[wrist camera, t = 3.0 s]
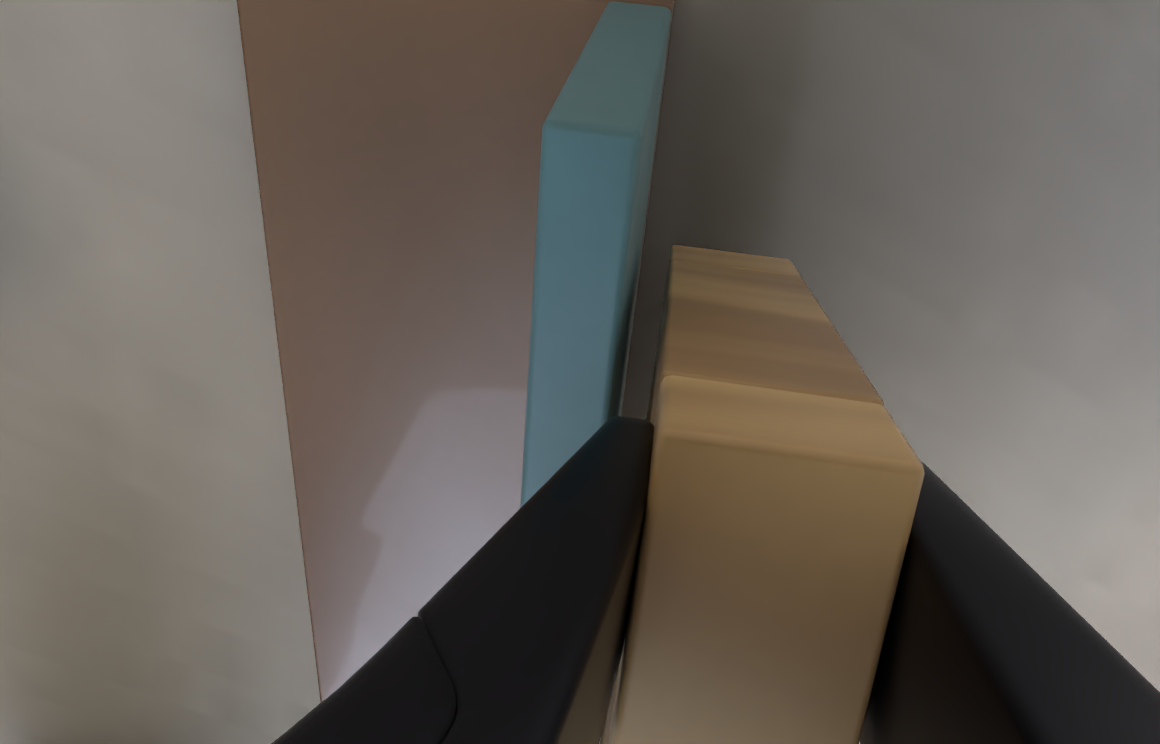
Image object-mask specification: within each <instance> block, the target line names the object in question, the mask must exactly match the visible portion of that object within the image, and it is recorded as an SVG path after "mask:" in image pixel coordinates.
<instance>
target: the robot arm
mask: <svg viewBox="0 0 1160 744" xmlns="http://www.w3.org/2000/svg"><path fill="white" fill-rule="evenodd" d="M653 434H654V426H653V424H652V423H651V422H650V421H647V420H640V419H633V418H627V417H620V416H614V417H611V418H610V419H608V420H607V421H606V422H605V423H604V424H603V425H602V426H601V427H600V428H599V429H598V430H597V431H596V432H595V433H594V434H593V436H592V437H591V438H590V439H589V440H588V441H587V442H586V443H585V444H584V445H583V446H582V447H581V448H580V449H579V450H578V451H577V452H576V453H575V454H574V455H573V456H572V457H571V458H570V459H569V460H568V461H567V462H566V463H565V464H564V465H563V466H562V467H561V468H560V469H559V470H558V471H557V472H556V473H555V474H554V475H553V476H552V477H551V478H550V479H549V480H548V481H547V482H546V483H545V484H544V485H543V486H542V487H541V488H540V489H539V490H538V491H537V492H536V493H535V494H534V495H533V496H532V497H531V498H530V499H529V500H528V501H527V502H526V503H525V504H524V505H523V506H522V507H521V508H520V509H519V510H518V511H517V512H516V513H515V514H514V515H513V516H512V517H511V518H510V519H509V520H508V521H507V522H506V523H505V524H504V525H503V526H502V527H501V528H500V529H499V530H498V531H497V532H496V533H495V534H494V535H493V536H492V537H491V538H490V539H489V540H488V542H487V543H486V544H485V545H484V546H483V547H482V548H481V549H480V550H479V551H478V552H477V553H476V554H475V555H474V556H473V557H472V558H471V559H470V560H469V561H468V562H467V563H466V564H465V565H464V566H463V567H462V568H461V569H460V570H459V571H458V572H457V573H456V574H455V575H454V576H453V577H452V578H451V579H450V580H449V581H448V582H447V583H446V584H445V585H444V586H443V587H442V588H441V589H440V590H439V591H438V592H437V593H436V594H435V595H434V596H433V597H432V598H431V599H430V600H429V601H428V602H427V603H426V604H425V605H424V606H423V607H422V608H421V609H420V610H419V612H418V617H416V616H415V617H412V618H411V619H410V620H409V621H408V622H407V623H406V624H405V625H404V626H403V627H402V628H401V629H400V630H399V631H398V632H397V633H396V634H395V635H394V636H393V637H392V638H391V639H390V640H389V641H388V642H387V643H386V644H385V645H384V646H383V647H382V648H381V649H380V650H379V651H378V652H377V653H376V654H375V655H374V656H372V657H371V658H370V659H369V660H368V661H367V662H366V663H365V664H364V665H363V666H362V667H361V668H360V669H359V670H358V671H357V672H355V673H354V674H353V675H352V676H351V677H350V678H349V679H348V680H347V681H346V682H345V683H344V684H343V685H342V686H341V687H339V688H338V689H337V690H336V691H335V692H333V693H332V694H331V695H330V696H329V697H327V698H326V699H325V700H324V701H323V702H321V703H320V704H319V705H318V706H317V707H315V708H314V709H313V710H312V711H311V712H309V713H308V714H307V715H306V716H305V717H303V718H302V719H301V720H300V721H299V722H297V723H296V724H295V725H294V726H293V727H292V728H290V729H289V730H288V731H287V732H286V733H284V734H283V735H282V736H280V737H279V738H278V739H277V740H275V741H274V742H273V743H272V744H599V741H600V738H601V734H602V730H603V726H604V723H605V719H606V715H607V711H608V707H609V704H610V700H611V696H612V692H613V689H614V685H615V681H616V677H617V674H618V669H619V665H620V661H621V656H622V652H623V647H624V641H625V635H626V628H627V622H628V616H629V609H630V603H631V597H632V590H633V584H634V578H635V571H636V565H637V559H638V552H639V546H640V540H641V533H642V527H643V521H644V514H645V508H646V502H647V494H648V485H649V475H650V464H651V454H652V444H653ZM921 463H922V462H921ZM922 464H923V468H924V473H925V474H924V479H923V483H922V487H921V491H920V495H919V499H918V503H917V507H916V511H915V515H914V519H913V524H912V528H911V532H910V536H909V540H908V544H907V548H906V552H905V556H904V560H903V564H902V569H901V573H900V577H899V581H898V585H897V589H896V593H895V597H894V601H893V605H892V609H891V614H890V618H889V622H888V626H887V630H886V634H885V638H884V642H883V646H882V650H881V655H880V659H879V663H878V667H877V671H876V675H875V679H874V683H873V687H872V691H871V695H870V700H869V704H868V708H867V712H866V716H865V720H864V724H863V728H862V732H861V736H860V744H1160V692H1159V691H1158V690H1157V689H1156V688H1155V687H1154V686H1153V685H1152V684H1151V683H1149V682H1148V681H1147V680H1146V679H1145V678H1144V677H1143V676H1142V675H1141V674H1140V673H1139V672H1138V671H1137V670H1136V669H1135V668H1134V667H1133V666H1132V665H1131V664H1130V663H1129V662H1128V661H1127V660H1126V659H1125V658H1124V657H1123V656H1122V655H1121V654H1120V653H1119V652H1118V651H1117V650H1116V649H1115V648H1113V647H1112V646H1111V645H1110V644H1109V643H1108V642H1107V641H1106V640H1105V639H1104V638H1103V637H1102V636H1101V635H1100V634H1099V633H1098V632H1097V631H1096V630H1095V629H1094V628H1093V627H1092V626H1091V625H1090V624H1089V623H1088V622H1087V621H1086V620H1085V619H1084V618H1083V617H1082V616H1081V615H1080V614H1078V613H1077V612H1076V611H1075V610H1074V609H1073V608H1072V607H1071V606H1070V605H1069V604H1068V603H1067V602H1066V601H1065V600H1064V599H1063V598H1062V597H1061V596H1060V595H1059V594H1058V593H1057V592H1056V591H1055V590H1054V589H1053V588H1052V587H1051V586H1050V585H1049V584H1048V583H1047V582H1046V581H1045V580H1043V579H1042V578H1041V577H1040V576H1039V575H1038V574H1037V573H1036V572H1035V571H1034V570H1033V569H1032V568H1031V567H1030V566H1029V565H1028V564H1027V563H1026V562H1025V561H1024V560H1023V559H1022V558H1021V557H1020V556H1019V555H1018V554H1017V553H1016V552H1015V551H1014V550H1013V549H1012V548H1011V547H1010V546H1008V545H1007V544H1006V543H1005V542H1004V541H1003V540H1002V539H1001V538H1000V537H999V536H998V535H997V534H996V533H995V532H994V531H993V530H992V529H991V528H990V527H989V526H988V525H987V524H986V523H985V522H984V521H983V520H982V519H981V518H980V517H979V516H978V515H977V514H976V513H975V512H974V511H972V510H971V509H970V508H969V507H968V506H967V505H966V504H965V503H964V502H963V501H962V500H961V499H960V498H959V497H958V496H957V495H956V494H955V493H954V492H953V491H952V490H951V489H950V488H949V487H948V486H947V485H946V484H945V483H944V482H943V481H942V480H941V479H940V478H939V477H937V476H936V475H935V474H934V473H933V472H932V471H931V470H930V469H929V468H928V467H927V466H926V465H925V464H924V463H922Z"/></svg>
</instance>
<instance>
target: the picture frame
mask: <svg viewBox="0 0 1160 744" xmlns="http://www.w3.org/2000/svg"><path fill="white" fill-rule="evenodd" d="M646 420H647V421H650V422H651V423H652V424H653V426H654V434H653V444H652V454H651V464H650V475H649V485H648V494H647V502H646V508H645V514H644V521H643V527H642V533H641V540H640V546H639V552H638V559H637V565H636V571H635V578H634V584H633V590H632V597H631V603H630V609H629V616H628V622H627V628H626V635H625V641H624V647H623V652H622V656H621V661H620V665H619V669H618V674H617V677H616V681H615V685H614V689H613V692H612V696H611V700H610V704H609V707H608V711H607V715H606V719H605V723H604V726H603V730H602V734H601V740H600V744H859V740H860V736H861V732H862V728H863V724H864V720H865V716H866V712H867V708H868V704H869V700H870V695H871V691H872V687H873V683H874V679H875V675H876V671H877V667H878V663H879V659H880V655H881V650H882V646H883V642H884V638H885V634H886V630H887V626H888V622H889V618H890V614H891V609H892V605H893V601H894V597H895V593H896V589H897V585H898V581H899V577H900V573H901V569H902V564H903V560H904V556H905V552H906V548H907V544H908V540H909V536H910V532H911V528H912V524H913V519H914V515H915V511H916V507H917V503H918V499H919V495H920V491H921V487H922V483H923V479H924V474H925V473H924V468H923V464H922V463H921V461H920V460H919V458H918V457H917V455H916V454H915V452H914V451H913V449H912V448H911V446H910V445H909V443H908V441H907V440H906V438H905V437H904V435H903V434H902V432H901V431H900V429H899V428H898V426H897V425H896V423H895V422H894V420H893V419H892V417H891V415H890V414H889V412H888V411H887V409H886V408H885V407H884V403H883V401H882V399H881V397H880V396H879V394H878V393H877V391H876V390H875V388H874V387H873V385H872V384H871V382H870V381H869V379H868V378H867V376H866V375H865V373H864V372H863V370H862V369H861V367H860V366H859V364H858V363H857V361H856V360H855V358H854V357H853V355H852V354H851V352H850V351H849V349H848V348H847V346H846V344H845V343H844V341H843V340H842V338H841V337H840V335H839V334H838V332H837V331H836V329H835V328H834V326H833V325H832V323H831V322H830V320H829V319H828V317H827V316H826V314H825V313H824V311H823V310H822V308H821V307H820V305H819V304H818V302H817V301H816V299H815V298H814V296H813V294H812V293H811V291H810V290H809V288H808V287H807V285H806V284H805V282H804V281H803V279H802V278H801V276H800V274H799V273H798V271H797V270H796V268H795V267H794V265H793V264H792V262H791V261H790V260H789V259H781V258H773V257H766V256H758V255H750V254H742V253H735V252H727V251H719V250H712V249H704V248H696V247H688V246H681V245H672V247H671V252H670V259H669V266H668V272H667V279H666V286H665V293H664V300H663V307H662V314H661V321H660V328H659V335H658V342H657V349H656V356H655V363H654V370H653V377H652V384H651V391H650V398H649V405H648V412H647V419H646Z"/></svg>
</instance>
